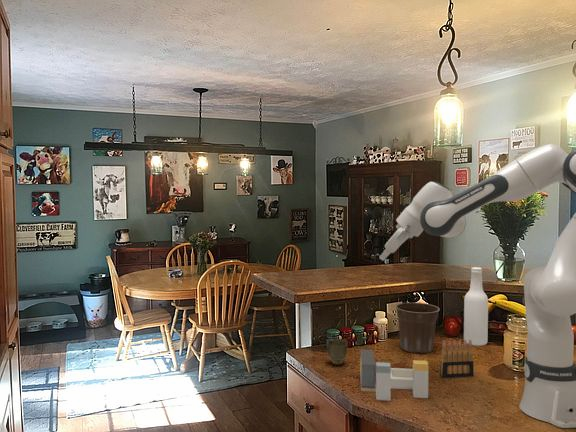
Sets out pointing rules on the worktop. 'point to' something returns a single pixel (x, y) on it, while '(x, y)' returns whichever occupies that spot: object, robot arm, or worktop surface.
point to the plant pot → (417, 326)
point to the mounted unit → (367, 371)
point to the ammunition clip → (457, 360)
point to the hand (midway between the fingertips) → (383, 256)
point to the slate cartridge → (383, 381)
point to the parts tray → (401, 378)
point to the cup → (337, 350)
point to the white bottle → (476, 311)
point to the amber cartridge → (420, 379)
